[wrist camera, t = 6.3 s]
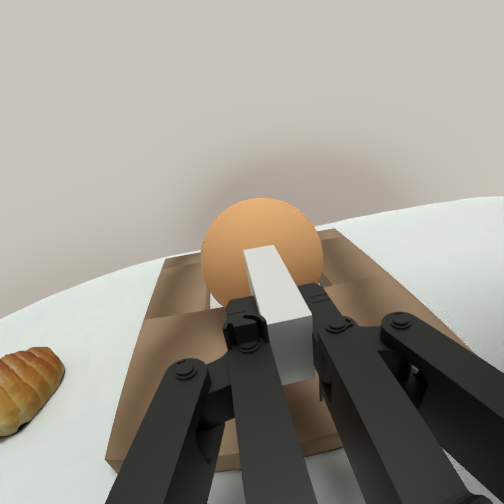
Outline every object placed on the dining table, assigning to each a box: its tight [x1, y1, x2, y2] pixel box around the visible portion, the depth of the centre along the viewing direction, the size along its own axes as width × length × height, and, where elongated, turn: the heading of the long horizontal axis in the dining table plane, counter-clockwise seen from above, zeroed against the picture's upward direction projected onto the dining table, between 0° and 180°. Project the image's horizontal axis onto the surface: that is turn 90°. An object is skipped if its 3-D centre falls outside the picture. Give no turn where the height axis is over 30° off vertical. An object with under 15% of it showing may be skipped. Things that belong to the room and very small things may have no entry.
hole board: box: [105, 228, 476, 473], centre depth 24 cm, size 20×26×2 cm
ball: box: [201, 198, 323, 308], centre depth 21 cm, size 8×8×8 cm
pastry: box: [0, 347, 64, 436], centre depth 16 cm, size 9×7×4 cm
